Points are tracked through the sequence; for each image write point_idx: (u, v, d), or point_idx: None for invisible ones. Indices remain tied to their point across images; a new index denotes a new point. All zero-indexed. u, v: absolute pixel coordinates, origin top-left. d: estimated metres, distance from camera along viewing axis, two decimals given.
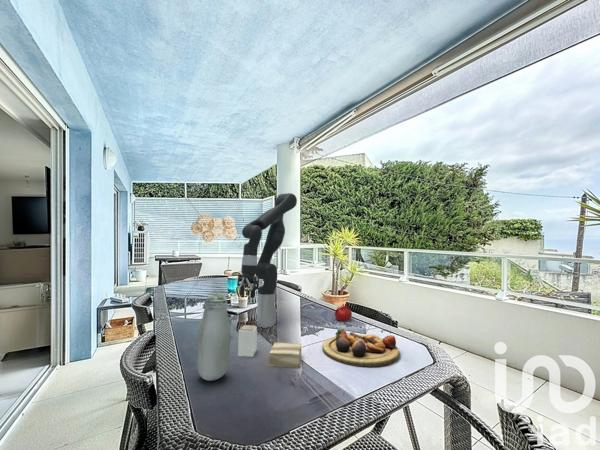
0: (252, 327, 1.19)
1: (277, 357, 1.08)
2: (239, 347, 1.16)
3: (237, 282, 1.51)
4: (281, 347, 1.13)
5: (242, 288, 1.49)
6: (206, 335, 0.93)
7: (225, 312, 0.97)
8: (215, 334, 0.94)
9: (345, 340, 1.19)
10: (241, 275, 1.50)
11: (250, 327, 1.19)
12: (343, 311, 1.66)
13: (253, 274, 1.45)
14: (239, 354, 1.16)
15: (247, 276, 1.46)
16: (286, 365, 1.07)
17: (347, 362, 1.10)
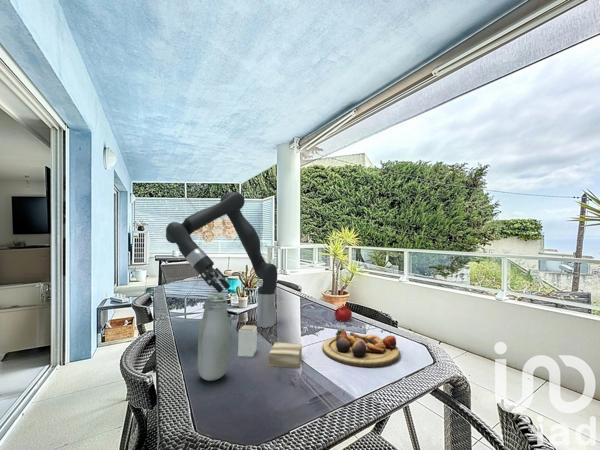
0: (252, 327, 1.19)
1: (277, 357, 1.08)
2: (239, 347, 1.16)
3: None
4: (281, 347, 1.13)
5: (222, 281, 1.26)
6: (206, 335, 0.93)
7: (225, 312, 0.97)
8: (215, 334, 0.94)
9: (345, 340, 1.18)
10: None
11: (250, 327, 1.19)
12: (343, 311, 1.66)
13: (203, 270, 1.19)
14: (239, 354, 1.16)
15: None
16: (286, 365, 1.07)
17: (347, 362, 1.10)
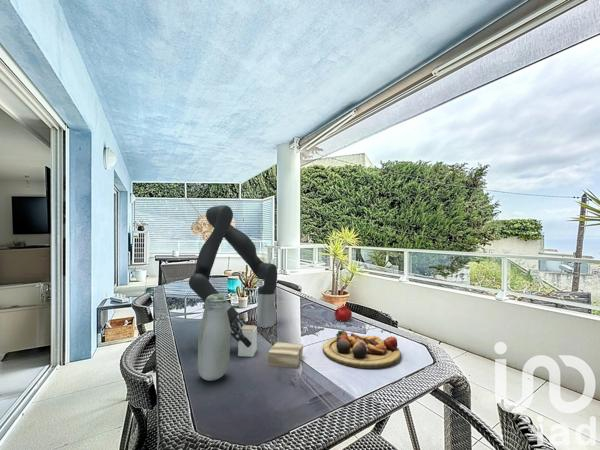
0: (252, 327, 1.19)
1: (276, 356, 1.08)
2: (239, 347, 1.16)
3: None
4: (281, 347, 1.14)
5: None
6: (206, 335, 0.93)
7: (225, 312, 0.97)
8: (215, 334, 0.94)
9: (345, 341, 1.17)
10: None
11: (250, 327, 1.19)
12: (343, 311, 1.66)
13: None
14: (239, 354, 1.16)
15: None
16: (284, 365, 1.07)
17: (347, 364, 1.09)
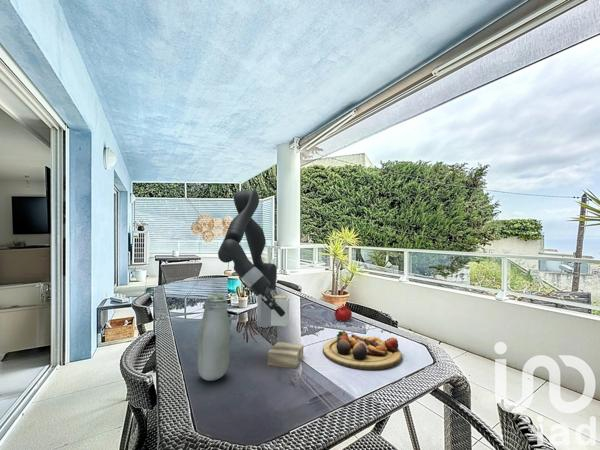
0: (285, 296, 1.14)
1: (275, 356, 1.08)
2: (272, 316, 1.11)
3: None
4: (281, 347, 1.14)
5: None
6: (206, 335, 0.93)
7: (225, 312, 0.97)
8: (215, 334, 0.94)
9: (346, 342, 1.16)
10: None
11: (283, 296, 1.14)
12: (343, 311, 1.66)
13: (262, 291, 1.11)
14: (272, 324, 1.11)
15: None
16: (284, 365, 1.07)
17: (347, 365, 1.08)
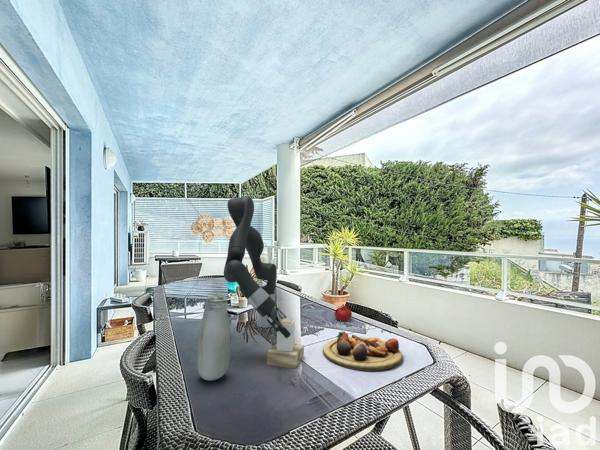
0: (290, 320, 1.14)
1: (274, 356, 1.09)
2: (278, 341, 1.11)
3: None
4: None
5: None
6: (206, 335, 0.93)
7: (225, 312, 0.97)
8: (215, 334, 0.94)
9: (346, 343, 1.15)
10: None
11: (288, 320, 1.14)
12: (343, 311, 1.66)
13: (268, 313, 1.11)
14: (278, 348, 1.10)
15: None
16: (283, 365, 1.07)
17: (347, 366, 1.07)
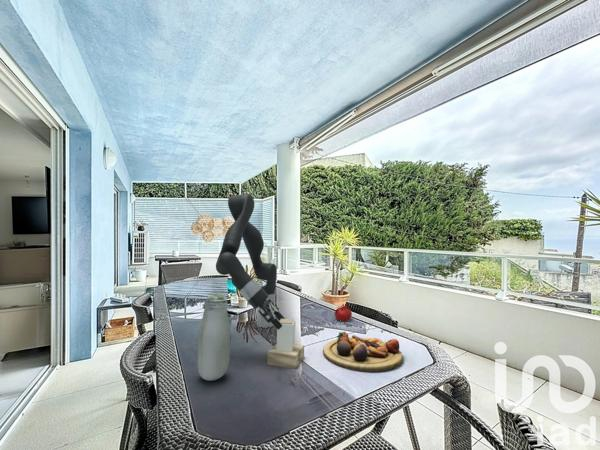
0: (291, 321, 1.14)
1: (275, 356, 1.08)
2: (278, 341, 1.11)
3: None
4: None
5: (277, 314, 1.18)
6: (206, 335, 0.93)
7: (225, 312, 0.97)
8: (215, 334, 0.94)
9: (346, 343, 1.15)
10: None
11: (288, 320, 1.14)
12: (343, 311, 1.66)
13: (260, 304, 1.11)
14: (278, 348, 1.11)
15: None
16: (283, 365, 1.07)
17: (347, 366, 1.07)
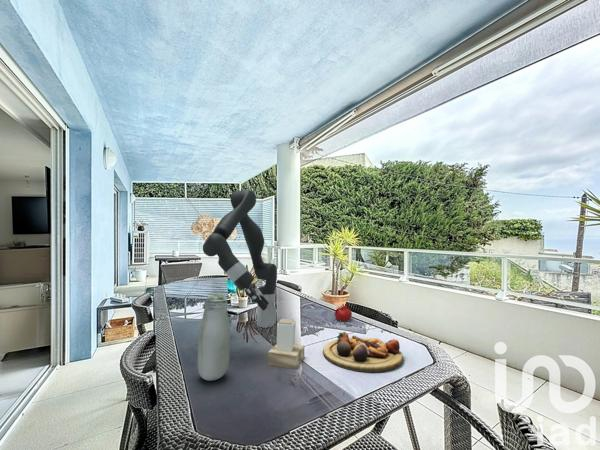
0: (291, 321, 1.14)
1: (275, 356, 1.08)
2: (277, 341, 1.11)
3: None
4: None
5: (261, 298, 1.20)
6: (206, 335, 0.93)
7: (225, 312, 0.97)
8: (215, 334, 0.94)
9: (346, 344, 1.15)
10: None
11: (289, 321, 1.14)
12: (343, 311, 1.66)
13: (246, 286, 1.12)
14: (277, 348, 1.11)
15: None
16: (283, 365, 1.07)
17: (347, 367, 1.06)
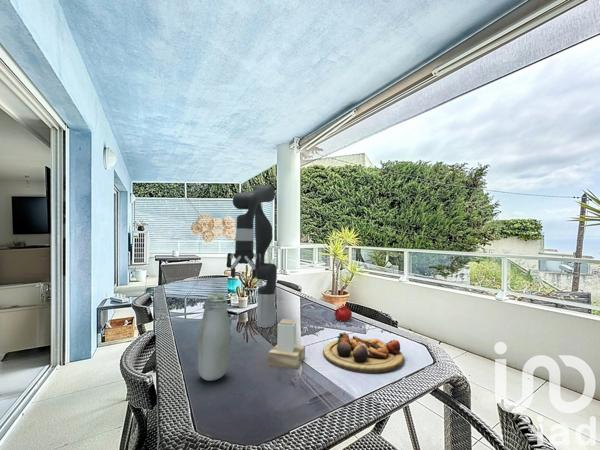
0: (291, 321, 1.13)
1: (276, 357, 1.08)
2: (278, 342, 1.10)
3: None
4: None
5: (234, 269, 1.23)
6: (206, 335, 0.93)
7: (225, 312, 0.97)
8: (215, 334, 0.94)
9: (346, 344, 1.14)
10: (232, 254, 1.23)
11: (289, 321, 1.13)
12: (343, 311, 1.66)
13: (252, 251, 1.23)
14: (278, 349, 1.10)
15: (244, 254, 1.22)
16: (284, 366, 1.07)
17: (347, 368, 1.06)
